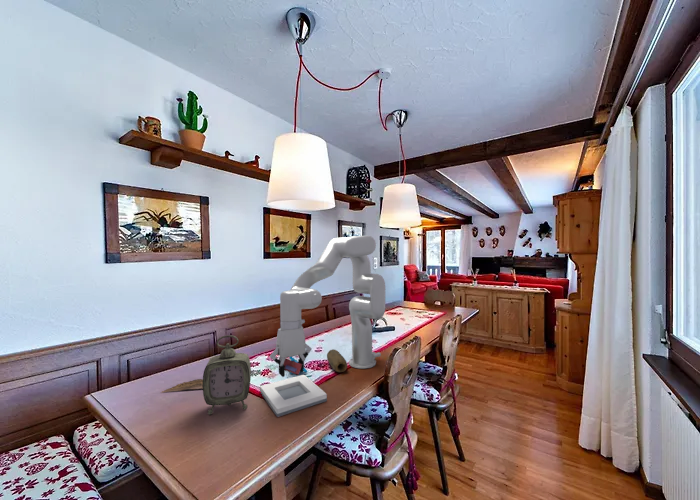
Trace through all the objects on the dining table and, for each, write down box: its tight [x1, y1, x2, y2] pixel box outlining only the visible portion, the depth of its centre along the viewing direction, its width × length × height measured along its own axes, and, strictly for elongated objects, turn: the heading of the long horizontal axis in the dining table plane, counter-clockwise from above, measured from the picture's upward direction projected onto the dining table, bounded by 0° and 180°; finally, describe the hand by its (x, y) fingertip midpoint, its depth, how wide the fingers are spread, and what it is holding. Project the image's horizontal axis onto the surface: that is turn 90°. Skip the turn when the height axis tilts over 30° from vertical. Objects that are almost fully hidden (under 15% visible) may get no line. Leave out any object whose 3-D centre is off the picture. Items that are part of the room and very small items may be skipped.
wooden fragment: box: [160, 378, 203, 394], centre depth 119 cm, size 26×11×1 cm, turn 111°
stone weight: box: [326, 349, 348, 373], centre depth 135 cm, size 15×7×7 cm, turn 23°
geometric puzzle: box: [283, 356, 303, 379], centre depth 108 cm, size 7×7×8 cm
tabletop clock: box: [202, 334, 252, 416], centre depth 101 cm, size 14×9×25 cm, turn 105°
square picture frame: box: [259, 374, 328, 418], centre depth 108 cm, size 18×20×2 cm
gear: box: [288, 356, 308, 375], centre depth 129 cm, size 11×6×10 cm
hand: (291, 372), depth 108 cm, fingers closed on geometric puzzle, 6 cm apart
